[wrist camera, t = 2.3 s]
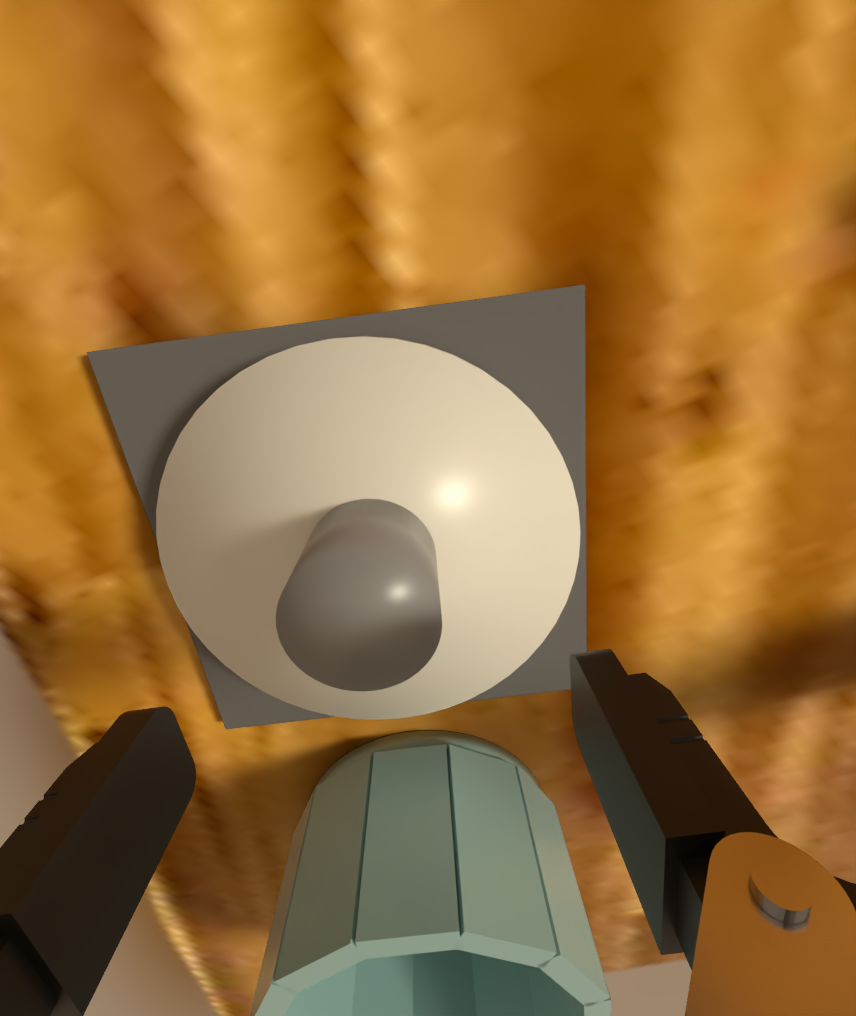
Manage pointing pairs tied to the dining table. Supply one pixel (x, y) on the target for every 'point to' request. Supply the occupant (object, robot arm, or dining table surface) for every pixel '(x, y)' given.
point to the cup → (430, 892)
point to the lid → (368, 528)
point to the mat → (449, 327)
